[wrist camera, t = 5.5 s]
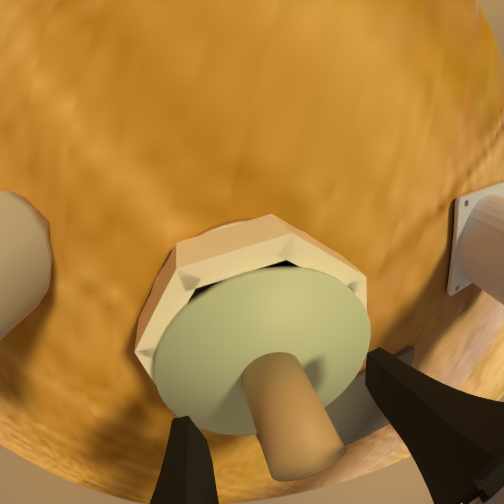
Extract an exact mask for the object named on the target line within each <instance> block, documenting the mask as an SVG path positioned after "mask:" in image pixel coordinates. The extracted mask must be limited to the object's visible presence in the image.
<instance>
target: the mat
mask: <svg viewBox="0 0 504 504" xmlns="http://www.w3.org/2000/svg"><path fill="white" fill-rule="evenodd" d="M413 353H414V348H413V346H411V347H409V348H407V349H405V350H403V351H401V352H400V353H398V354H396V355H394V356H395V357H396V358H398V359H400V360H401V361H403V362H404V363H406V364H408V365H409V366H411V363H412V358H413ZM365 375H366V370H364V371H362V372H360V373H358V374H357V375H356V377H355V378H354V379H353V381H352V382H351V383H350V384H349V386H348V387H347V388H346V389H345V390H344V391H343V392H342V393H341V394H340V395H339V396H338V397H337V398H336V399H335V400H334V401H332V402H331V403H330V404H328V405H327V406H326V407H325V408H324V409H325V411H326V413H327V414H328V416H329V418H330V420H331V422H332V424H333V426H334V427H335V429H336V431H337V433H338V435H339V437H340V438H341V440H342V442H343V444H344V446H345V445H348V444H350V443H352V442H354V441H356V440H358V439H360V438H362V437H365V436H367V435H369V434H371V433H373V432H374V431H376V430H378V429H380V428H382V427H384V426H386V425H388V424H390V422H389V421H388V420H387V418H386V417H385V416H384V414H383V413H382V411H381V410H380V409H379V407H378V406H377V405H376V403H375V401H374V400H373V398H372V396H371V394H370V393H369V391H368V389H367V387H366V385H365Z"/></svg>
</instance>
